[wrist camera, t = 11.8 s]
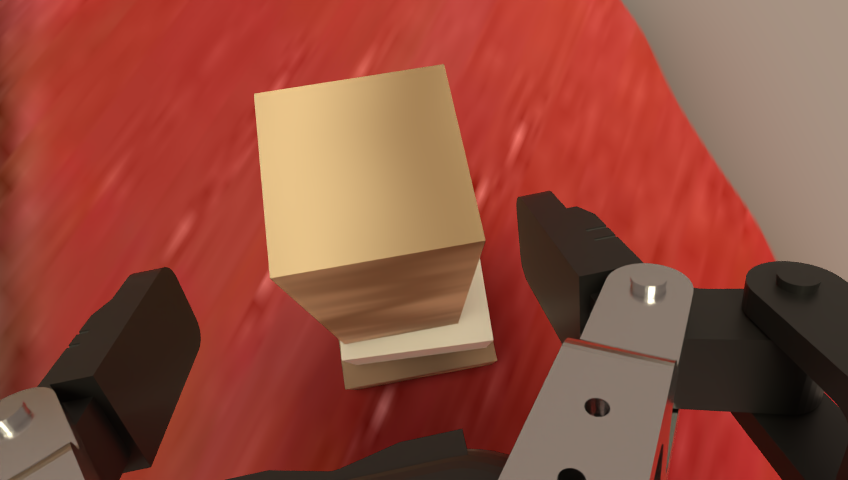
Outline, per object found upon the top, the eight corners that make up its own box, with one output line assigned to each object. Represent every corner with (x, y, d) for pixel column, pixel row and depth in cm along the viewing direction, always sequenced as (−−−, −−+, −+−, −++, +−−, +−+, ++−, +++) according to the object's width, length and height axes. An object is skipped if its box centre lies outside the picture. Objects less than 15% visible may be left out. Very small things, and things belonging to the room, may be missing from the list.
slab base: (357, 389, 26) (345, 389, 23) (339, 260, 28) (326, 243, 25) (490, 364, 27) (497, 360, 23) (463, 238, 29) (465, 217, 25)
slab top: (356, 365, 23) (341, 360, 20) (345, 240, 25) (330, 217, 22) (486, 347, 23) (493, 340, 20) (466, 224, 25) (470, 198, 22)
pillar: (344, 344, 20) (269, 278, 10) (330, 237, 21) (254, 93, 12) (458, 323, 20) (485, 240, 11) (436, 218, 22) (444, 64, 12)
